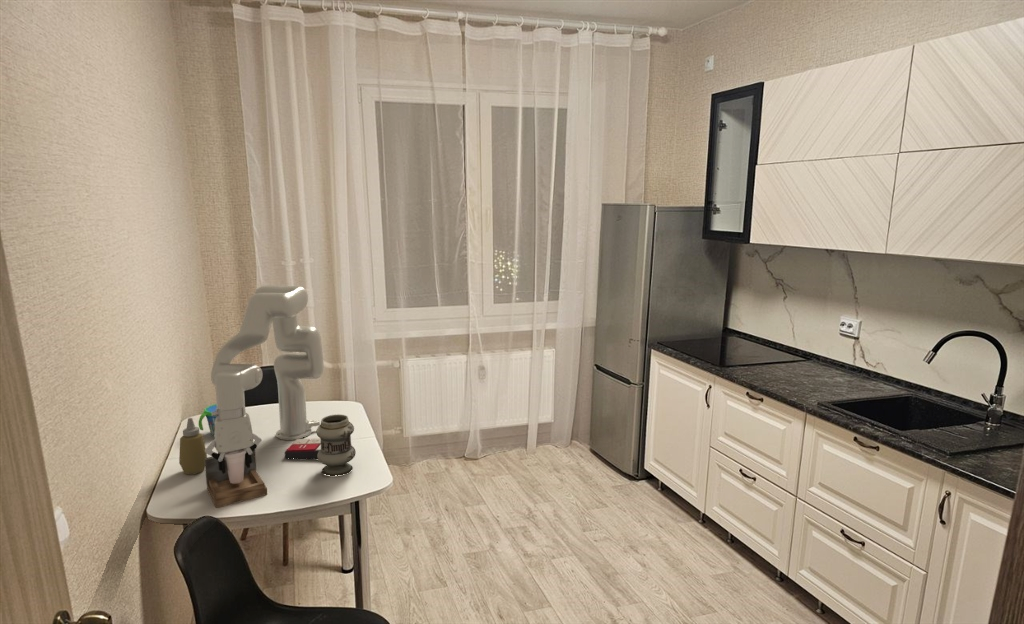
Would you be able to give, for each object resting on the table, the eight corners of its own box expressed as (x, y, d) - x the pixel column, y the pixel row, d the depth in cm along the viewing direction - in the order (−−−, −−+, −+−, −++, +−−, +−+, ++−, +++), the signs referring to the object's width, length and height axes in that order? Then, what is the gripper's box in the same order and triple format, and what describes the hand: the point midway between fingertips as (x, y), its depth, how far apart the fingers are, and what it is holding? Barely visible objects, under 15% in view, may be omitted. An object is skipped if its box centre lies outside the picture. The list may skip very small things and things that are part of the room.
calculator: (295, 438, 210) (337, 436, 210) (297, 449, 210) (338, 447, 210) (283, 450, 199) (327, 448, 199) (285, 462, 200) (328, 460, 199)
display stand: (255, 477, 186) (253, 447, 184) (267, 494, 175) (265, 462, 173) (206, 489, 177) (204, 458, 176) (216, 507, 166) (213, 475, 165)
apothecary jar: (317, 465, 195) (314, 414, 192) (354, 460, 199) (352, 410, 196) (319, 480, 184) (316, 426, 181) (358, 475, 188) (356, 422, 185)
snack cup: (205, 442, 213) (203, 415, 211) (194, 434, 220) (192, 409, 218) (248, 431, 224) (246, 405, 222) (236, 424, 231) (235, 399, 229)
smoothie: (220, 484, 173) (216, 439, 171) (234, 474, 179) (231, 431, 177) (239, 486, 172) (236, 441, 170) (252, 477, 178) (250, 433, 176)
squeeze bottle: (187, 466, 193) (182, 414, 190) (212, 465, 194) (208, 414, 191) (175, 477, 185) (170, 423, 182) (201, 476, 186) (197, 422, 183)
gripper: (201, 421, 164) (206, 481, 167) (265, 410, 174) (269, 466, 177) (196, 414, 170) (201, 471, 173) (259, 403, 180) (262, 457, 183)
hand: (235, 468), depth 175 cm, fingers closed on smoothie, 6 cm apart
